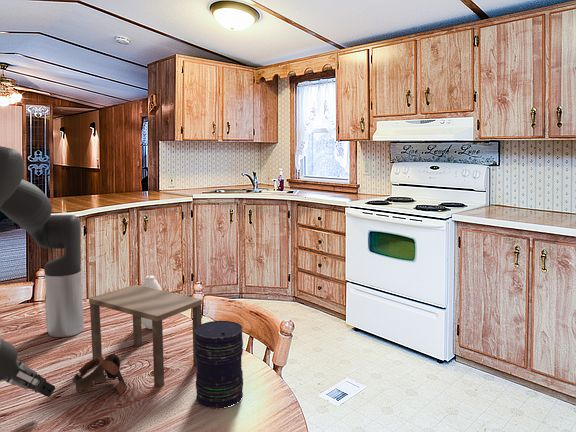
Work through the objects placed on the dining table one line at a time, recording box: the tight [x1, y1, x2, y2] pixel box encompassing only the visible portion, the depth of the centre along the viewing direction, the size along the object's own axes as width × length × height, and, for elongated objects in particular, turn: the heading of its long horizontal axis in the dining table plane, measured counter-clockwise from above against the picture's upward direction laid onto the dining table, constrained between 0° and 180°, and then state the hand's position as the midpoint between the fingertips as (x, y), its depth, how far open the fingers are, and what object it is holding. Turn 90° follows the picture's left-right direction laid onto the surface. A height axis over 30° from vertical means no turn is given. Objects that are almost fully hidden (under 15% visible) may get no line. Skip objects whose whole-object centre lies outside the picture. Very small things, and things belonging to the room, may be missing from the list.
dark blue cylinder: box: [195, 320, 244, 410], centre depth 102 cm, size 10×10×15 cm
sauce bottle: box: [140, 267, 163, 330], centre depth 140 cm, size 8×8×18 cm
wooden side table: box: [88, 284, 203, 388], centre depth 117 cm, size 23×14×16 cm, turn 58°
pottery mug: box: [72, 353, 127, 396], centre depth 106 cm, size 12×10×8 cm
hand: (50, 391), depth 97 cm, fingers closed
